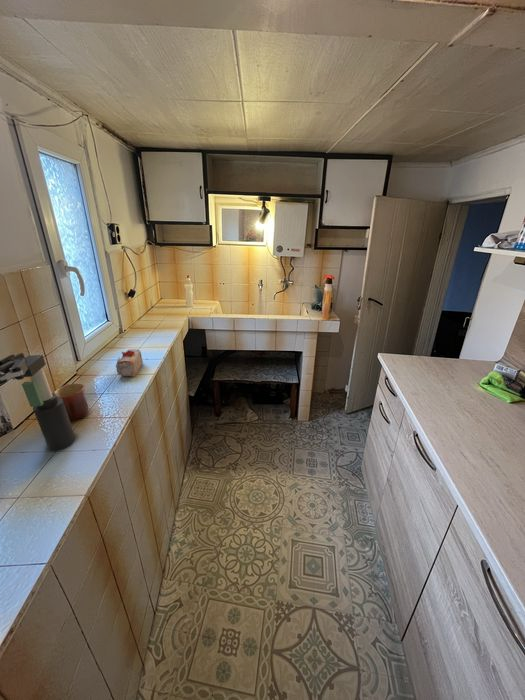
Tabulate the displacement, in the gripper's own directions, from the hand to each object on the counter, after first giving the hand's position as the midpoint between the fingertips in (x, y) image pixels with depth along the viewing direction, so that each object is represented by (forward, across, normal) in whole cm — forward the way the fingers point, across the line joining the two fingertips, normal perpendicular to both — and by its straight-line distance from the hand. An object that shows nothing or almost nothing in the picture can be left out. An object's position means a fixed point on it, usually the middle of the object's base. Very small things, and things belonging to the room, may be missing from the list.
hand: (18, 359), depth 70 cm
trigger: (+2, 0, -14) cm, 14 cm away
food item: (+50, +18, -24) cm, 58 cm away
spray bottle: (+7, -1, -29) cm, 30 cm away
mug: (+23, +1, -27) cm, 36 cm away
